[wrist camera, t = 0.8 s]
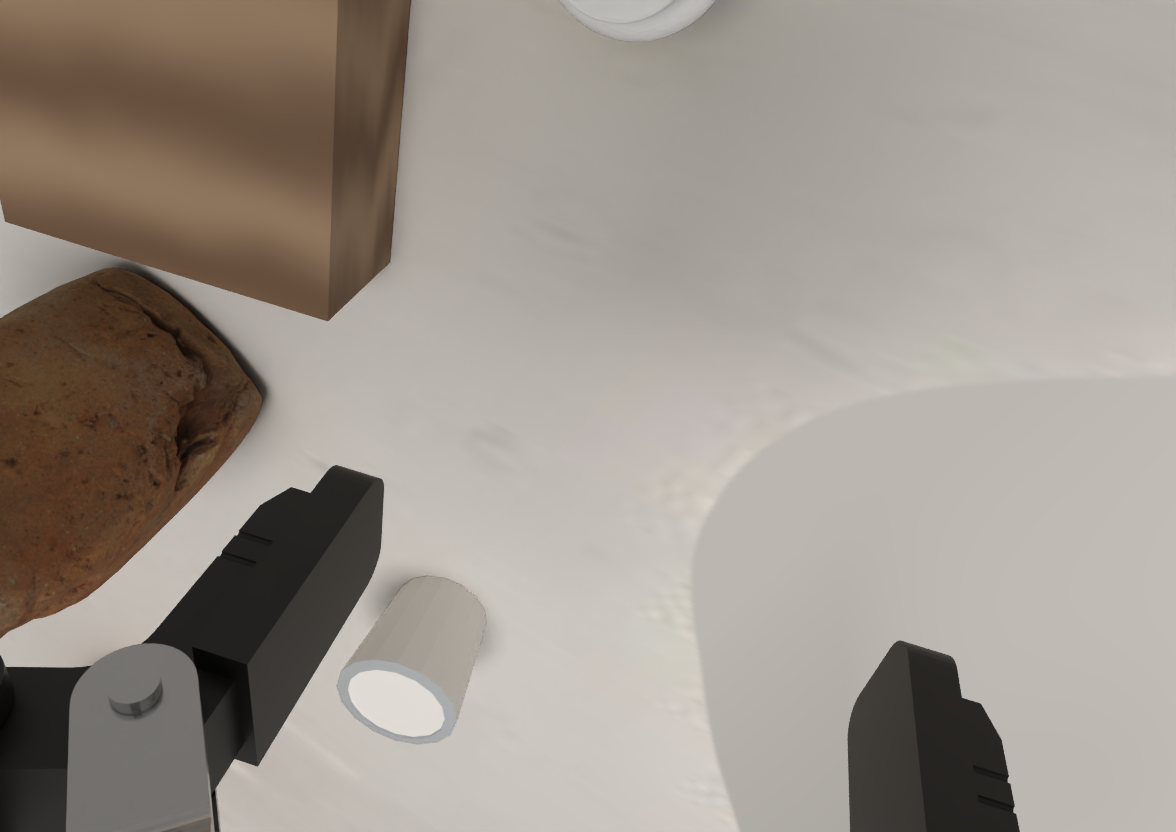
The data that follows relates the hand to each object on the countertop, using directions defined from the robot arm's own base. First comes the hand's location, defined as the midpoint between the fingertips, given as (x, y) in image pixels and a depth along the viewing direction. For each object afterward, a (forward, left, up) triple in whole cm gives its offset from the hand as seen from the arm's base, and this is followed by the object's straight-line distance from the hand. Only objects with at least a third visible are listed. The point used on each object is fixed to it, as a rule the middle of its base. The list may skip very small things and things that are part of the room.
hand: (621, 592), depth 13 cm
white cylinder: (+31, -8, -24) cm, 40 cm away
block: (+18, -24, -24) cm, 38 cm away
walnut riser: (+2, -20, -24) cm, 31 cm away
